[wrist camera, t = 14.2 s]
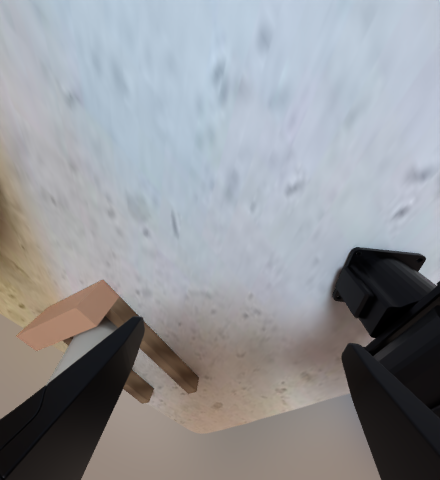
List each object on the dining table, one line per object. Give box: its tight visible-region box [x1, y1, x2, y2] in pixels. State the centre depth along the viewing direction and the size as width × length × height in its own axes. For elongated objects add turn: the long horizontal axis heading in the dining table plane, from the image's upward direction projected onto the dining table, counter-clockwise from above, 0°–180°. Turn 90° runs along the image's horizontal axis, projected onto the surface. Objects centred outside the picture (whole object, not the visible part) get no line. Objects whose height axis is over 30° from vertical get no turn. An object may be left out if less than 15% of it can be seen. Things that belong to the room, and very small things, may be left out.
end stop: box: [16, 280, 119, 351], centre depth 24 cm, size 3×11×4 cm, turn 120°
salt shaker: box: [46, 316, 118, 385], centre depth 22 cm, size 6×6×13 cm
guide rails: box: [62, 297, 199, 403], centre depth 29 cm, size 19×11×2 cm, turn 30°
